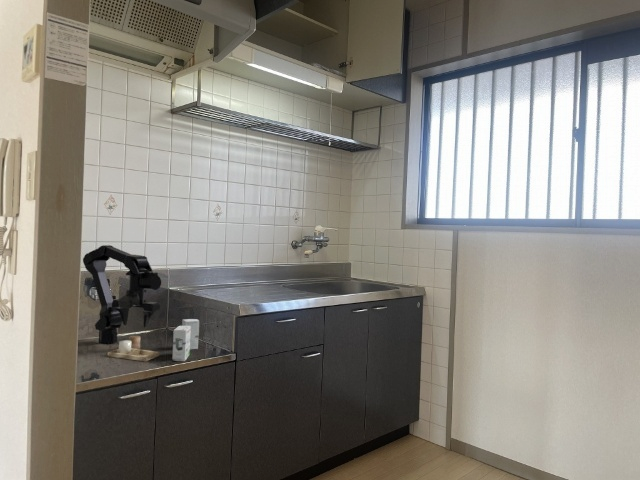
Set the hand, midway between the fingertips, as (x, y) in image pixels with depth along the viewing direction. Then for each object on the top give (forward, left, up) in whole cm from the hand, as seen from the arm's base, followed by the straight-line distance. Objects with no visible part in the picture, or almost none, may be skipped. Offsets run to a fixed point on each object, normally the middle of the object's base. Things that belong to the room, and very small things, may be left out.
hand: (134, 326), depth 196 cm
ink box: (+23, -3, -10) cm, 25 cm away
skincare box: (+19, +10, -10) cm, 24 cm away
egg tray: (+7, -10, -9) cm, 15 cm away
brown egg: (0, 0, -9) cm, 9 cm away
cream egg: (+3, -10, -9) cm, 14 cm away
